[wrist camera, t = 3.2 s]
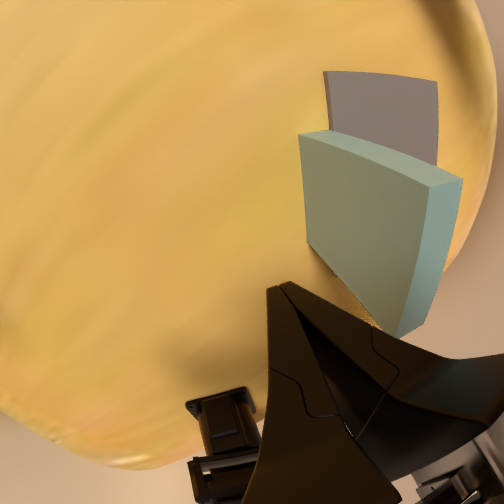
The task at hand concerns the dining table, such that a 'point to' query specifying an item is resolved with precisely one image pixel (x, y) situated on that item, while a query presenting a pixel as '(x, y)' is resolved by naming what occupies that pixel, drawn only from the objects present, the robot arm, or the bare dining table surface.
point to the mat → (385, 111)
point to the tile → (379, 223)
